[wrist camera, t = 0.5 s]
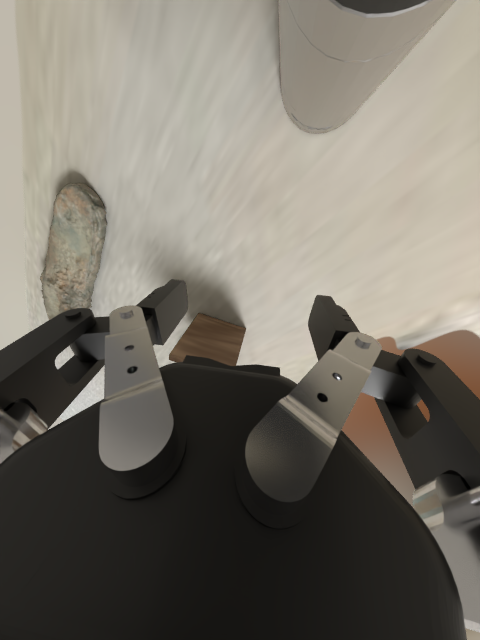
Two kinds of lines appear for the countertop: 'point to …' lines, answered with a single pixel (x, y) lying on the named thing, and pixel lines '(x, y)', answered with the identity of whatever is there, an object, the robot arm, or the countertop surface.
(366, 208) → the countertop surface
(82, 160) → the countertop surface
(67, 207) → the elongated rock
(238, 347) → the rack
